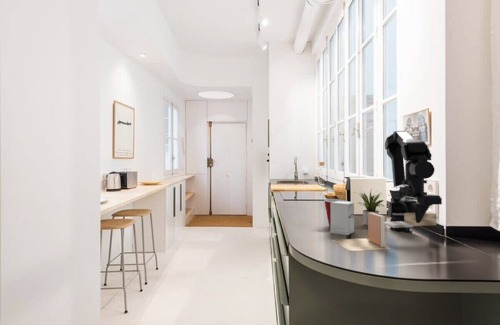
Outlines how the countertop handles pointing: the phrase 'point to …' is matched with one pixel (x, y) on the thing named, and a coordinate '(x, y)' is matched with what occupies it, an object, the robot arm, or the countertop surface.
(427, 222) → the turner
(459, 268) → the countertop surface
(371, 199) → the house plant
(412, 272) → the countertop surface
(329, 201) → the plastic cup
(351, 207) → the supplement box
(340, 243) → the board
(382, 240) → the tile
